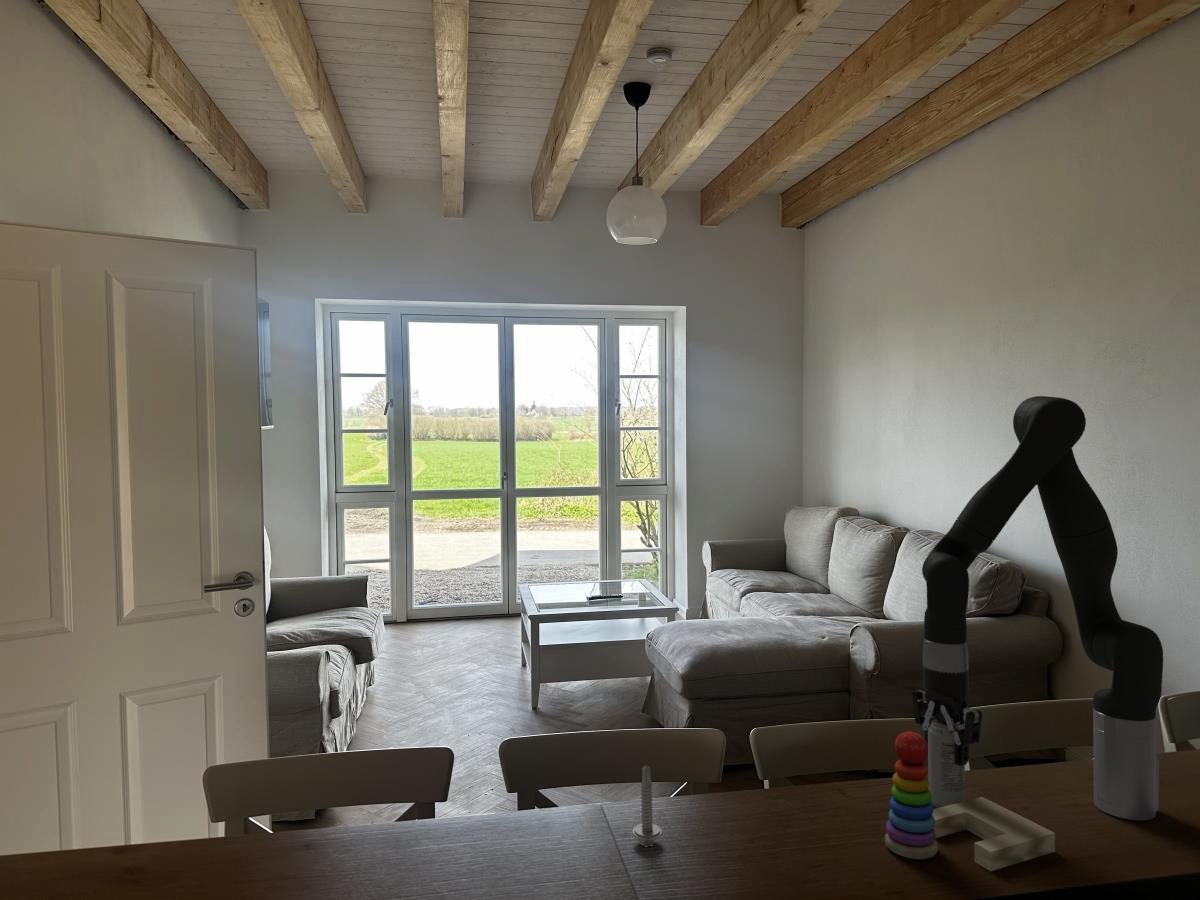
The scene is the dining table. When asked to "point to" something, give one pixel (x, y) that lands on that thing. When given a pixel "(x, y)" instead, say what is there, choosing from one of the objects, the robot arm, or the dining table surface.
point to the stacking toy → (911, 801)
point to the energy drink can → (944, 766)
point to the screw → (646, 813)
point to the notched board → (995, 832)
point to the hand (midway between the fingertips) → (946, 757)
